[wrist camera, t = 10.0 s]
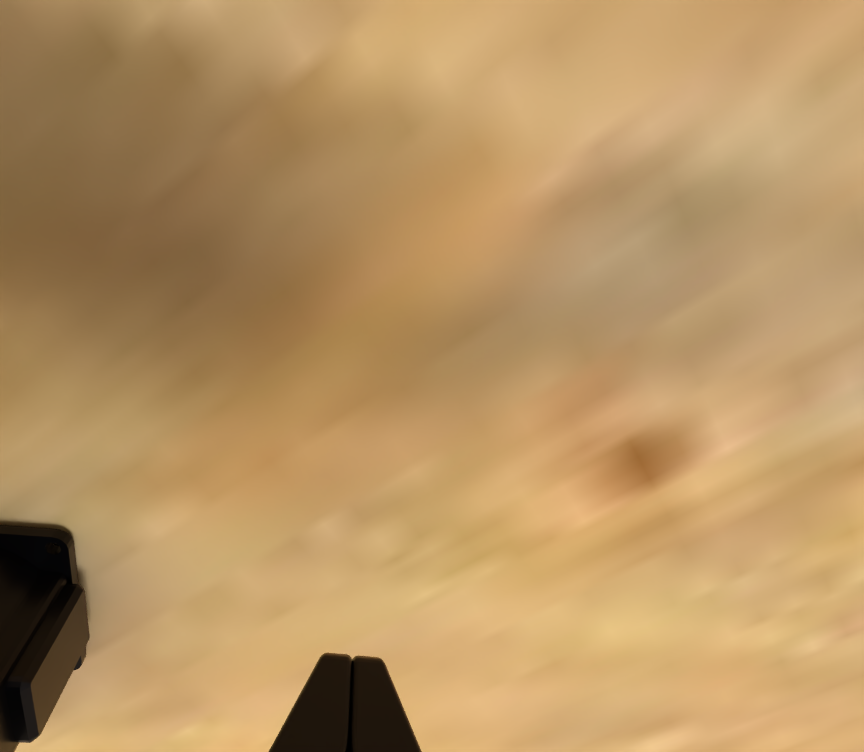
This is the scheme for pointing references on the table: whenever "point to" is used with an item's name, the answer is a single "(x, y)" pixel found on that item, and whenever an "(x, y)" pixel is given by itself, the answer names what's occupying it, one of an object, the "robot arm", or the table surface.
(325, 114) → the table surface
